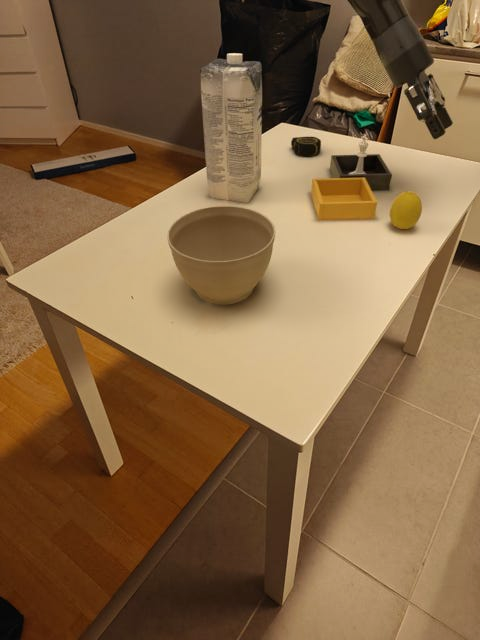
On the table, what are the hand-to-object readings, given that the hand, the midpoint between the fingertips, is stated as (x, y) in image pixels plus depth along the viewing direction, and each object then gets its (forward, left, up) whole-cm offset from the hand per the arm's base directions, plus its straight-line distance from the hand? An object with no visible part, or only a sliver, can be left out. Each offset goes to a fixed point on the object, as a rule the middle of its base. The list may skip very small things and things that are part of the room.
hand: (444, 131), depth 87 cm
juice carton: (+40, -6, -15) cm, 43 cm away
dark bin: (+12, -11, -15) cm, 22 cm away
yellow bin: (+18, +1, -15) cm, 23 cm away
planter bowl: (+42, +27, -15) cm, 52 cm away
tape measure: (+22, -28, -15) cm, 38 cm away
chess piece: (+12, -11, -14) cm, 21 cm away
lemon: (+8, +10, -15) cm, 20 cm away
